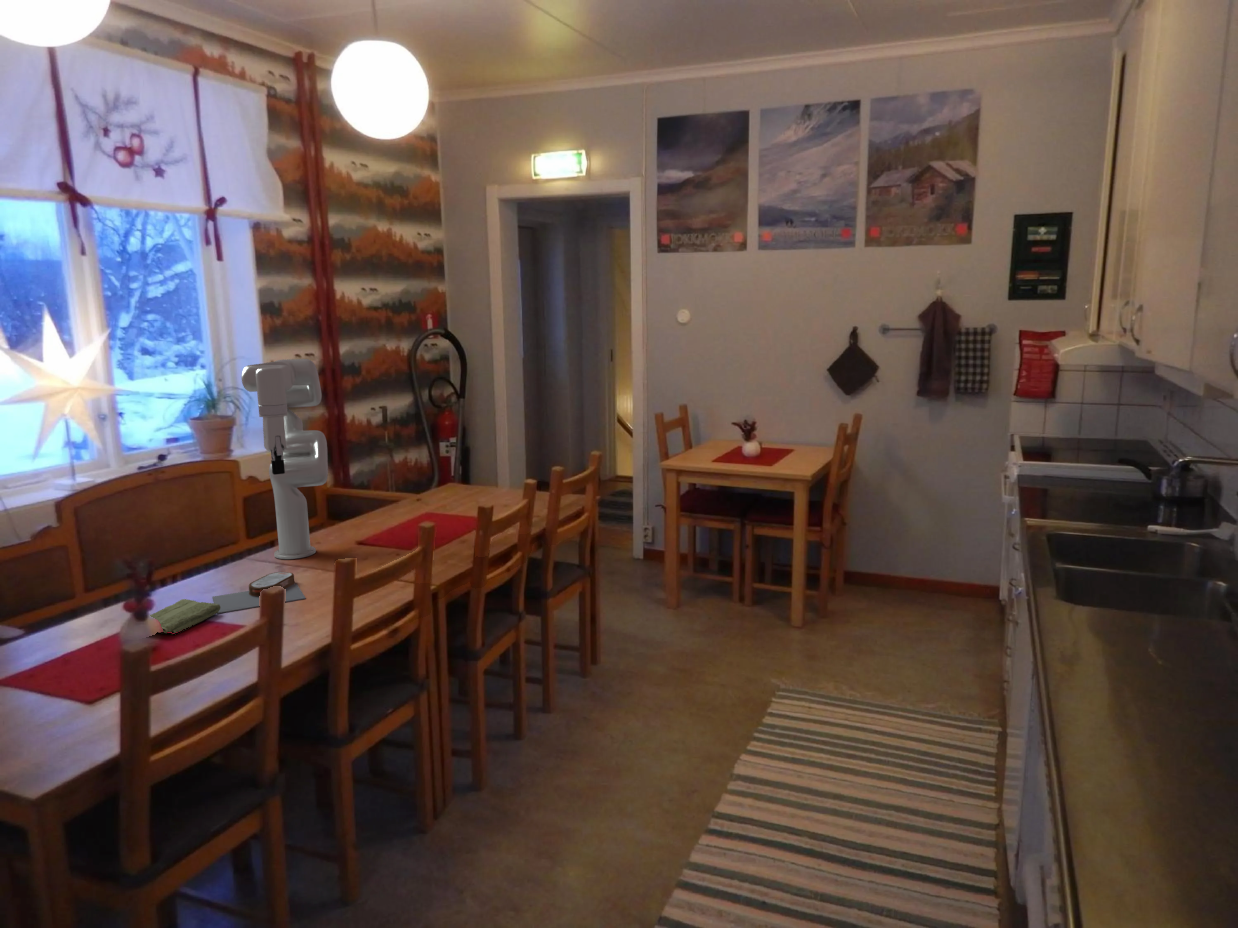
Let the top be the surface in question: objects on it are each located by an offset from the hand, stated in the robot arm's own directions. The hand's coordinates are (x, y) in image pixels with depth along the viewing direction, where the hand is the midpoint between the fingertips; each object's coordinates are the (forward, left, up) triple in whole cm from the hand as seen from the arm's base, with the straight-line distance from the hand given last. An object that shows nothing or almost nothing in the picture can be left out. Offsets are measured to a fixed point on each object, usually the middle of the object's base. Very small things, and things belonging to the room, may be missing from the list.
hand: (278, 473), depth 245 cm
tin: (+7, -9, -29) cm, 31 cm away
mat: (+17, -10, -31) cm, 37 cm away
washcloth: (+26, -30, -31) cm, 50 cm away
